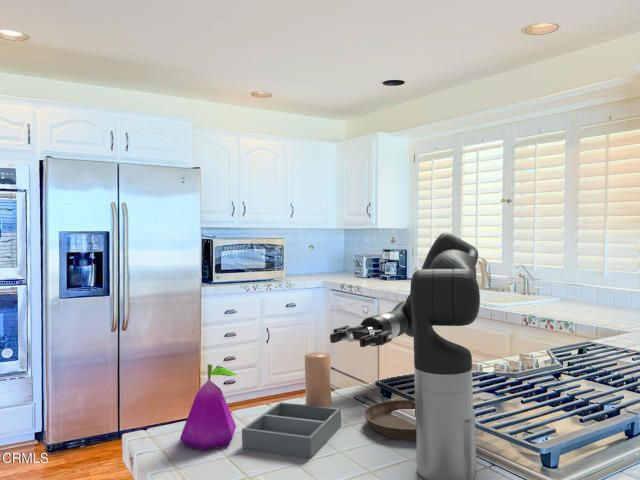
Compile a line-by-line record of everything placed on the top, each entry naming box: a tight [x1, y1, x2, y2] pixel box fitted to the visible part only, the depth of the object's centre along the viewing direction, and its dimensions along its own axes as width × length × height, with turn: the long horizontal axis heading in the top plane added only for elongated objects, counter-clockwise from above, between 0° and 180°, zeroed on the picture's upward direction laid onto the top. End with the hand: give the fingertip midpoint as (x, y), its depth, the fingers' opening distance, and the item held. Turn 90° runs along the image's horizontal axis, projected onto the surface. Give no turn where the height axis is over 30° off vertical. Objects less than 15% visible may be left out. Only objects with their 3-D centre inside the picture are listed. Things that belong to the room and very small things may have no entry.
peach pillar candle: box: [304, 352, 332, 408], centre depth 111 cm, size 6×6×13 cm
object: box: [363, 399, 416, 440], centre depth 103 cm, size 18×18×3 cm
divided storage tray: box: [241, 401, 342, 459], centre depth 99 cm, size 14×16×4 cm
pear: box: [179, 363, 238, 452], centre depth 98 cm, size 11×11×15 cm
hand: (346, 340), depth 120 cm, fingers open, 8 cm apart
